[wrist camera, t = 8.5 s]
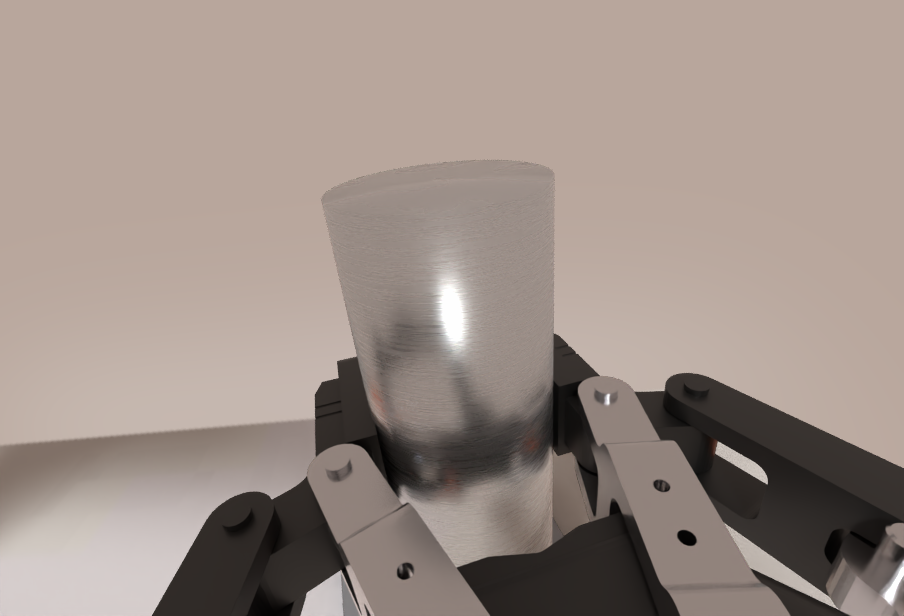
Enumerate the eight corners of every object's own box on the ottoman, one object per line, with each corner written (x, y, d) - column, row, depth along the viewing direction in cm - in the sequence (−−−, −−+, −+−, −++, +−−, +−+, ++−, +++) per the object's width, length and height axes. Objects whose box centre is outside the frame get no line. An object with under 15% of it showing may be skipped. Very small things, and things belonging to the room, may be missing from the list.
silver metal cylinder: (437, 710, 13) (324, 232, 6) (407, 567, 16) (319, 180, 10) (577, 654, 14) (603, 184, 7) (519, 530, 17) (501, 153, 11)
